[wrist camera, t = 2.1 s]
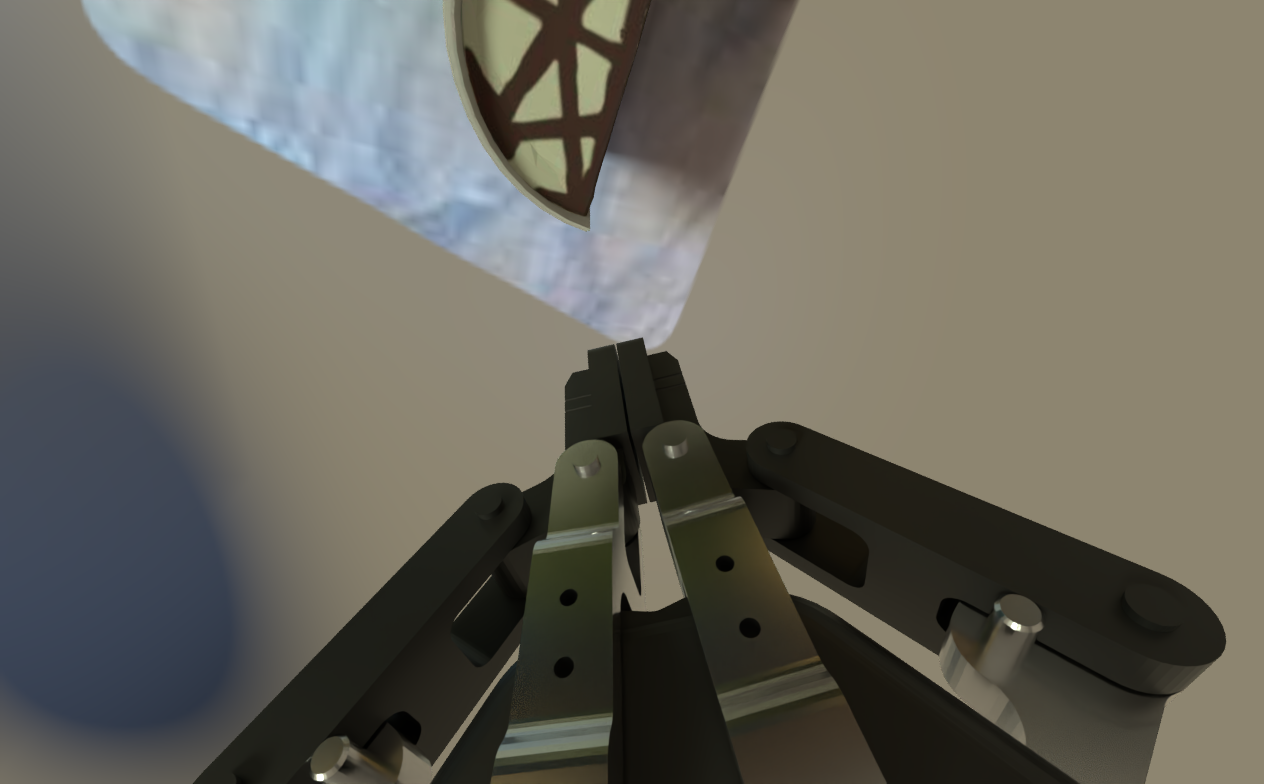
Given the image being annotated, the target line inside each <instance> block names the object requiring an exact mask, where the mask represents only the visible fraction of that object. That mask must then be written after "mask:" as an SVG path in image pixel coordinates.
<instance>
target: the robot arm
mask: <svg viewBox="0 0 1264 784" xmlns="http://www.w3.org/2000/svg"><path fill="white" fill-rule="evenodd" d="M616 345H617V351H618V355H617V352H616V348H615V345H614V344H613V345H609V346H604V347H600V348H596V349H592V350H588V365H589V369H588V370H583V371H579V372H575V373H572V375H571V377H570V378H569V380H568V382H567V384H566V385H565V412H566V413H565V451H564V452H563V453H562V454H561V456H560V457H559V459H558V460H557V462H556V466H555V472H554V474H553V475H552V476H551V477H549V478H548V479H546V480H545V481H543V482H541V483H540V484H538V485H536V486H534V487H532V488H530V489H528V490H526V491H524V492H521V490H520V489H519V488H518V487H517V486H515V485H512V484H509V483H497V484H492V485H489V486H486V487H484V488H482V489H480V490H479V491H477V492H476V493H474V494H473V495H472V496H471V497H469V499H467V501H465V503H464V504H463V505H462V506H461V507H460V508H459V509H458V510H457V511H456V512H455V513H454V514H453V515H452V516H451V517H450V518H449V519H448V520H447V521H446V522H445V523H444V524H443V525H442V526H441V527H440V528H439V529H438V530H437V531H436V532H435V534H434V535H433V536H432V537H431V538H430V539H429V540H428V541H427V542H426V543H425V544H424V545H423V546H422V547H421V548H420V549H419V550H418V551H417V552H416V553H415V554H414V555H413V556H412V557H411V558H410V559H409V560H408V561H407V562H406V563H405V564H404V565H403V566H402V567H401V568H400V570H399V571H398V572H397V573H396V574H395V575H394V576H393V577H392V578H391V579H390V580H389V581H388V582H387V583H386V584H385V585H384V586H383V587H382V588H381V589H380V590H379V591H378V592H377V593H376V594H375V595H374V596H373V597H372V598H371V599H370V600H369V601H368V603H367V604H366V605H365V606H364V607H363V608H362V609H361V610H360V611H359V612H358V613H357V614H356V615H355V616H354V617H353V618H352V619H351V620H350V621H349V622H348V623H347V624H346V625H345V626H344V627H343V629H341V630H340V631H339V633H337V634H336V636H334V638H333V639H332V640H331V641H330V642H329V643H328V644H327V645H326V646H325V647H324V648H323V649H322V650H321V651H320V652H319V653H318V654H317V655H316V656H315V657H314V658H313V659H312V660H311V661H310V662H309V663H308V665H306V666H305V667H304V669H302V671H301V672H300V673H299V674H298V675H297V676H296V677H295V678H294V679H293V680H292V681H291V682H290V683H289V684H288V685H287V686H286V687H285V688H284V689H283V690H282V691H281V692H280V693H279V694H278V695H277V696H276V697H275V698H274V699H273V700H272V702H270V703H269V704H268V706H267V707H266V708H265V709H264V710H263V711H262V712H261V713H260V714H259V715H258V716H257V717H256V718H255V719H254V720H253V721H252V722H251V723H250V724H249V725H248V726H247V727H246V728H245V729H244V730H243V731H242V732H241V733H240V734H239V736H237V737H236V738H235V740H234V741H233V742H232V743H231V744H230V745H229V746H228V747H227V748H226V749H225V750H224V751H223V752H222V753H221V754H220V755H219V756H218V757H217V758H216V759H215V760H214V761H213V762H212V763H211V764H210V765H209V766H208V767H207V768H206V769H205V770H204V772H203V773H202V774H201V775H200V776H199V777H198V778H197V779H196V780H195V782H194V783H193V784H1145V781H1146V777H1147V773H1148V769H1149V765H1150V761H1151V758H1152V754H1153V750H1154V746H1155V742H1156V738H1157V734H1158V730H1159V726H1160V723H1161V718H1162V714H1163V711H1164V708H1165V707H1166V706H1167V705H1168V704H1169V703H1170V702H1171V701H1172V700H1173V699H1175V698H1176V697H1177V696H1178V695H1179V694H1180V693H1181V692H1182V691H1183V690H1184V689H1185V688H1186V687H1187V686H1188V685H1189V684H1191V683H1192V682H1193V681H1194V680H1195V679H1196V678H1197V677H1198V676H1199V675H1200V674H1201V673H1203V672H1204V671H1205V670H1206V669H1207V668H1208V667H1209V666H1210V665H1211V664H1212V663H1213V662H1215V661H1216V659H1218V658H1219V657H1220V656H1221V655H1222V653H1223V651H1224V649H1225V645H1226V638H1225V637H1226V636H1225V632H1224V629H1223V626H1222V624H1221V622H1220V621H1219V619H1218V617H1217V616H1216V614H1215V613H1214V612H1213V611H1212V609H1211V608H1210V607H1209V606H1208V605H1207V604H1206V603H1205V602H1204V601H1203V600H1202V599H1201V598H1200V597H1198V596H1197V595H1196V594H1195V593H1193V592H1192V591H1191V590H1189V589H1188V588H1186V587H1185V586H1183V585H1182V584H1180V583H1178V582H1176V581H1174V580H1173V579H1171V578H1169V577H1167V576H1164V575H1162V574H1160V573H1158V572H1155V571H1153V570H1150V569H1148V568H1145V567H1143V566H1141V565H1138V564H1136V563H1133V562H1131V561H1128V560H1126V559H1123V558H1121V557H1119V556H1116V555H1114V554H1111V553H1109V552H1107V551H1104V550H1102V549H1099V548H1097V547H1095V546H1092V545H1090V544H1087V543H1085V542H1082V541H1080V540H1078V539H1075V538H1073V537H1070V536H1068V535H1065V534H1063V533H1061V532H1058V531H1056V530H1053V529H1051V528H1048V527H1046V526H1044V525H1041V524H1039V523H1036V522H1034V521H1032V520H1029V519H1026V518H1024V517H1022V516H1019V515H1017V514H1015V513H1012V512H1010V511H1007V510H1005V509H1002V508H1000V507H998V506H995V505H993V504H990V503H988V502H985V501H983V500H981V499H978V498H975V497H973V496H971V495H968V494H966V493H963V492H961V491H959V490H956V489H954V488H952V487H949V486H946V485H944V484H942V483H939V482H937V481H934V480H932V479H930V478H927V477H925V476H922V475H920V474H918V473H915V472H913V471H910V470H908V469H905V468H903V467H901V466H898V465H896V464H893V463H891V462H889V461H886V460H884V459H881V458H879V457H876V456H874V455H872V454H869V453H867V452H864V451H862V450H859V449H857V448H855V447H852V446H850V445H847V444H845V443H842V442H840V441H838V440H835V439H832V438H830V437H828V436H825V435H823V434H821V433H818V432H816V431H813V430H811V429H809V428H806V427H804V426H801V425H799V424H795V423H791V422H771V423H767V424H764V425H762V426H760V427H758V428H756V429H755V430H754V431H753V432H752V433H751V434H750V435H749V437H748V439H747V440H726V439H721V438H718V437H715V436H712V435H710V434H709V433H707V432H706V431H705V430H703V429H702V428H701V426H700V424H699V423H698V420H697V417H696V414H695V411H694V408H693V405H692V402H691V399H690V396H689V393H688V390H687V387H686V384H685V381H684V378H683V375H682V371H681V369H680V365H679V362H678V360H677V359H675V358H674V357H673V356H672V355H670V354H669V353H668V352H667V351H665V352H661V353H657V354H652V355H648V356H647V353H646V349H645V345H644V341H643V337H642V338H638V339H634V340H630V341H625V342H621V343H617V344H616ZM618 357H619V359H618ZM643 478H644V481H643ZM644 482H645V485H646V489H647V493H648V497H649V500H650V502H654V501H656V502H657V505H658V509H659V512H660V517H661V521H662V525H663V528H664V532H665V535H666V539H667V542H668V546H669V549H670V552H671V556H672V559H673V562H674V566H675V569H676V573H677V576H678V580H679V583H680V587H681V590H682V593H683V597H684V598H683V599H681V600H679V601H677V602H675V603H673V604H671V605H669V606H667V607H665V608H663V609H661V610H658V611H652V612H648V611H647V609H646V597H645V580H644V564H643V548H642V534H641V529H640V516H639V510H638V505H641V504H645V503H647V498H646V493H645V487H644ZM769 551H770V552H772V553H773V554H775V555H777V556H778V557H780V558H781V559H783V560H785V561H786V562H788V563H790V564H791V565H793V566H794V567H796V568H798V569H799V570H801V571H803V572H804V573H806V574H807V575H809V576H811V577H812V578H814V579H816V580H817V581H819V582H820V583H822V584H824V585H825V586H827V587H829V588H830V589H832V590H833V591H835V592H837V593H838V594H840V595H841V596H843V597H845V598H846V599H848V600H849V601H851V602H853V603H854V604H856V605H858V606H859V607H861V608H862V609H864V610H866V611H867V612H869V613H870V614H872V615H874V616H875V617H877V618H879V619H880V620H882V621H883V622H885V623H887V624H888V625H890V626H892V627H893V628H895V629H896V630H898V631H900V632H901V633H903V634H905V635H906V636H908V637H909V638H911V639H912V640H914V641H916V642H918V643H919V644H921V645H922V646H924V647H926V648H927V649H929V650H930V651H932V652H934V653H935V654H937V655H938V656H939V662H940V666H941V670H942V672H943V675H944V677H945V679H946V681H947V682H948V684H949V685H950V687H951V688H952V689H953V691H954V692H955V693H956V694H957V695H958V696H959V697H960V698H961V699H962V700H963V701H964V702H966V703H967V704H968V705H970V706H971V707H972V708H973V709H974V710H973V709H972V708H970V707H969V706H967V705H966V704H965V703H963V702H962V701H960V700H959V699H957V698H956V697H955V696H953V695H951V694H950V693H949V692H947V691H945V690H944V689H943V688H942V687H940V686H939V685H937V684H936V683H934V682H933V681H931V680H930V679H929V678H927V677H926V676H924V675H923V674H921V673H920V672H918V671H917V670H915V669H914V668H913V667H911V666H910V665H908V664H907V663H905V662H904V661H902V660H901V659H900V658H898V657H896V656H895V655H894V654H892V653H891V652H889V651H888V650H887V649H885V648H884V647H882V646H881V645H879V644H878V643H876V642H875V641H874V640H872V639H871V638H869V637H868V636H866V635H865V634H863V633H862V632H860V631H859V630H858V629H856V628H855V627H853V626H852V625H851V624H849V623H848V622H846V621H845V620H843V619H842V618H840V617H839V616H837V615H836V614H834V613H833V612H831V611H830V610H828V609H826V608H824V607H822V606H820V605H818V604H817V603H814V602H812V601H809V600H807V599H804V598H801V597H798V596H794V595H790V594H789V593H788V591H787V589H786V587H785V585H784V583H783V581H782V579H781V576H780V574H779V572H778V570H777V568H776V566H775V564H774V562H773V560H772V558H771V556H770V553H769ZM490 575H492V576H491V577H490V579H489V580H488V581H487V582H486V583H485V585H484V586H483V587H482V588H481V589H480V591H479V592H478V593H477V594H476V596H475V597H474V598H473V599H472V600H471V602H470V603H469V604H468V605H467V607H466V608H465V609H464V610H463V611H462V612H461V614H460V615H459V616H458V617H457V618H456V616H457V615H458V614H459V612H460V611H461V610H462V609H463V607H464V606H465V605H466V604H467V603H468V601H469V600H470V599H471V598H472V597H473V595H474V594H475V593H476V592H477V591H478V589H479V588H480V587H481V586H482V584H483V583H484V582H485V581H486V580H487V579H488V577H489V576H490ZM455 618H456V620H455V621H454V619H455ZM519 644H520V647H519V655H518V660H517V661H516V662H515V663H514V664H513V665H512V666H511V667H510V668H509V669H508V671H507V672H506V673H505V674H504V675H503V677H502V678H501V679H500V680H499V682H498V683H497V685H496V686H495V687H494V689H493V690H492V692H491V693H490V695H489V696H488V698H487V699H486V701H485V702H484V704H483V705H482V707H481V708H480V710H479V711H478V713H477V714H476V716H475V717H474V719H473V720H472V722H471V723H470V725H469V726H468V728H467V729H466V731H465V732H464V734H463V735H462V737H461V738H460V740H459V741H458V743H457V744H456V746H455V747H454V749H453V750H452V752H451V753H450V755H449V756H448V758H447V759H446V761H445V762H444V764H443V765H442V767H441V768H440V770H439V771H438V773H437V774H436V776H435V777H434V779H433V780H432V768H431V767H432V766H433V764H434V763H435V761H436V760H437V759H438V757H439V756H440V754H441V753H442V752H443V750H444V749H445V747H446V746H447V745H448V743H449V742H450V740H451V739H452V738H453V736H454V735H455V733H456V732H457V731H458V729H459V728H460V726H461V725H462V724H463V722H464V721H465V719H466V718H467V717H468V715H469V714H470V712H471V711H472V710H473V708H474V707H475V706H476V704H477V703H478V701H479V700H480V698H481V697H482V696H483V694H484V693H485V692H486V690H487V689H488V687H489V686H490V684H491V683H492V682H493V680H494V679H495V678H496V676H497V675H498V673H499V672H500V671H501V669H502V668H503V666H504V665H505V664H506V662H507V661H508V659H509V658H510V657H511V655H512V654H513V652H514V651H515V650H516V648H517V647H518V646H519ZM975 710H976V711H977V712H976V711H975Z"/></svg>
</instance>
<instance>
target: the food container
mask: <svg viewBox="0 0 1264 784" xmlns="http://www.w3.org/2000/svg"><path fill="white" fill-rule="evenodd" d="M650 2H651V0H443V17H444V28H445V38H446V48H447V52H448V56H449V61H450V65H451V69H452V74H453V78H454V82H455V85H456V88H457V90H458V93H459V96H460V98H461V101H462V104H463V106H464V109H465V112H466V114H467V117H468V119H469V121H470V123H471V125H472V127H473V129H474V130H475V132H476V134H477V136H478V138H479V140H480V142H481V144H482V146H483V147H484V149H485V150H486V151H487V153H488V154H489V156H490V157H491V159H492V160H493V161H494V163H495V164H496V166H497V167H498V168H499V170H500V171H501V172H502V173H503V174H504V175H505V177H506V178H507V179H508V180H509V181H510V182H511V183H512V184H513V185H514V186H515V187H516V188H517V189H518V190H519V192H521V193H522V194H523V195H524V196H525V197H527V198H528V199H529V200H530V201H532V202H533V203H534V204H535V205H537V206H538V207H539V208H540V209H542V210H543V211H545V212H547V213H549V214H550V215H552V216H554V217H555V218H557V219H559V220H561V221H562V222H564V223H566V224H569V225H571V226H574V227H576V228H579V229H581V230H584V231H586V232H587V230H588V231H590V205H591V202H592V200H593V198H594V192H595V187H596V183H597V179H598V176H599V172H600V169H601V166H602V163H603V159H604V156H605V153H606V150H607V146H608V143H609V140H610V136H611V133H612V130H613V126H614V123H615V119H616V116H617V113H618V109H619V106H620V103H621V100H622V97H623V93H624V90H625V87H626V84H627V81H628V77H629V74H630V71H631V68H632V65H633V62H634V58H635V55H636V52H637V48H638V45H639V41H640V38H641V34H642V31H643V27H644V24H645V20H646V17H647V13H648V10H649V6H650Z"/></svg>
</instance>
